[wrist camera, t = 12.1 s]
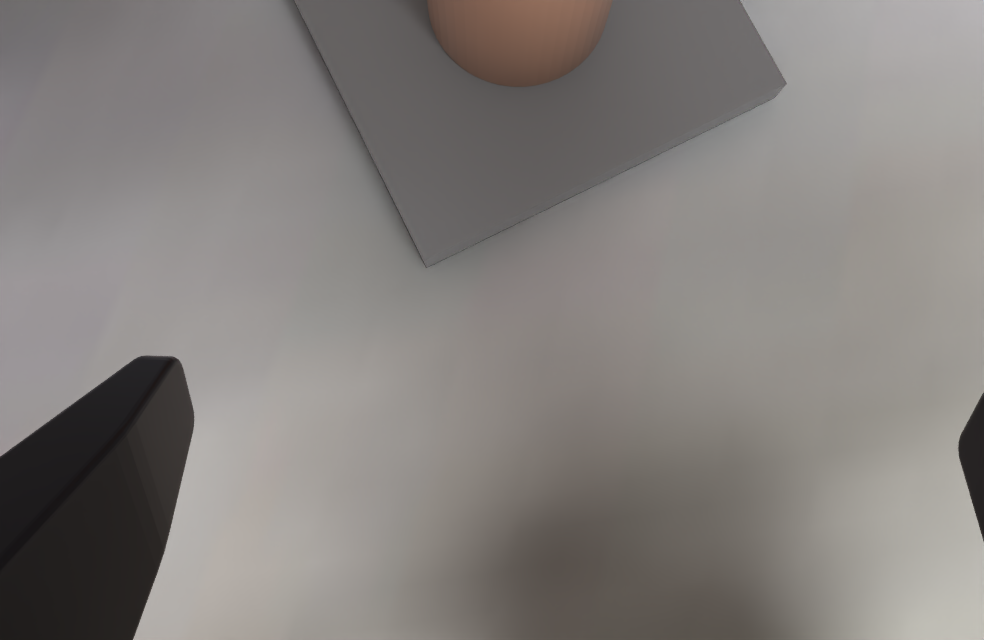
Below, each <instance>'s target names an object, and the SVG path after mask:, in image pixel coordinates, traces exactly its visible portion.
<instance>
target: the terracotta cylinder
mask: <svg viewBox="0 0 984 640" xmlns="http://www.w3.org/2000/svg"><path fill="white" fill-rule="evenodd" d="M612 1H613V0H427V5H428V13H429V18H430V22H431V26H432V29H433V31H434V33H435V36H436V38H437V40H438V41H439V43H440V45H441V46H442V48H443V49H444V51H445V52H446V53H447V54H448V56H449V57H450V58H451V59H452V60H453V61H454V62H455V63H456V64H458V65H459V66H460V67H461V68H463V69H464V70H466V71H467V72H468V73H470V74H472V75H474V76H476V77H478V78H480V79H482V80H485V81H487V82H490V83H494V84H498V85H503V86H511V87H527V86H535V85H540V84H544V83H548V82H550V81H553V80H555V79H558V78H560V77H562V76H564V75H566V74H567V73H569V72H571V71H572V70H573V69H575V68H576V67H577V66H579V65H580V64H581V63H582V62H583V61H584V60H585V59H586V58H587V57H588V56H589V55H590V53H591V52H592V51H593V50H594V48H595V47H596V45H597V43H598V42H599V40H600V38H601V36H602V33H603V31H604V28H605V25H606V22H607V18H608V15H609V11H610V8H611V5H612Z"/></svg>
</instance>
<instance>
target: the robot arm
mask: <svg viewBox="0 0 984 640" xmlns="http://www.w3.org/2000/svg"><path fill="white" fill-rule="evenodd" d="M193 428H194V410H193V406H192V402H191V398H190V394H189V390H188V386H187V382H186V378H185V374H184V370H183V367H182V364H181V363H180V361H179V360H178V359H177V358H175V357H172V356H140V357H138V358H136V359H134V360H133V361H131V362H130V363H129V364H127V365H126V366H124V367H123V368H122V369H120V370H119V371H118V372H116V373H115V374H113V375H112V376H111V377H109V378H108V379H107V380H105V381H104V382H102V383H101V384H100V385H98V386H97V387H95V388H94V389H93V390H91V391H90V392H89V393H87V394H86V395H84V396H83V397H82V398H80V399H79V400H78V401H76V402H75V403H73V404H72V405H71V406H69V407H68V408H67V409H65V410H64V411H62V412H61V413H60V414H58V415H57V416H56V417H54V418H53V419H51V420H50V421H49V422H47V423H46V424H45V425H43V426H42V427H40V428H39V429H38V430H36V431H35V432H34V433H32V434H31V435H29V436H28V437H27V438H25V439H24V440H22V441H21V442H20V443H18V444H17V445H16V446H14V447H13V448H11V449H10V450H9V451H7V452H6V453H5V454H3V455H2V456H0V640H133V638H134V636H135V633H136V630H137V627H138V625H139V622H140V619H141V616H142V614H143V611H144V608H145V605H146V603H147V600H148V597H149V594H150V592H151V589H152V586H153V583H154V581H155V578H156V575H157V572H158V569H159V566H160V563H161V560H162V557H163V554H164V551H165V548H166V544H167V540H168V536H169V532H170V528H171V524H172V519H173V515H174V511H175V507H176V502H177V498H178V494H179V489H180V485H181V481H182V477H183V472H184V468H185V464H186V459H187V455H188V451H189V447H190V442H191V438H192V434H193ZM958 450H959V458H960V462H961V465H962V469H963V472H964V476H965V479H966V482H967V486H968V489H969V493H970V496H971V499H972V503H973V506H974V510H975V513H976V517H977V520H978V523H979V527H980V530H981V534H982V537H983V540H984V393H983V394H982V396H981V398H980V400H979V402H978V404H977V405H976V407H975V409H974V411H973V413H972V415H971V417H970V419H969V420H968V422H967V424H966V426H965V428H964V430H963V432H962V434H961V436H960V440H959V447H958Z"/></svg>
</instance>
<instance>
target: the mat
mask: <svg viewBox="0 0 984 640" xmlns="http://www.w3.org/2000/svg"><path fill="white" fill-rule="evenodd" d="M294 2H295V4H296V6H297V8H298V10H299V12H300V14H301V16H302V18H303V20H304V22H305V24H306V26H307V28H308V30H309V32H310V34H311V36H312V38H313V40H314V42H315V44H316V46H317V48H318V50H319V52H320V54H321V56H322V58H323V60H324V62H325V64H326V66H327V68H328V70H329V72H330V74H331V76H332V78H333V80H334V82H335V84H336V86H337V88H338V90H339V92H340V94H341V96H342V98H343V100H344V102H345V104H346V106H347V108H348V110H349V112H350V114H351V116H352V119H353V121H354V123H355V125H356V127H357V129H358V131H359V133H360V135H361V137H362V139H363V141H364V143H365V145H366V147H367V149H368V151H369V153H370V155H371V157H372V159H373V161H374V163H375V165H376V167H377V169H378V171H379V173H380V175H381V177H382V179H383V181H384V183H385V185H386V187H387V189H388V191H389V193H390V195H391V197H392V199H393V201H394V203H395V205H396V207H397V209H398V211H399V213H400V215H401V217H402V219H403V221H404V223H405V225H406V227H407V229H408V231H409V233H410V235H411V237H412V239H413V241H414V243H415V246H416V248H417V250H418V252H419V254H420V256H421V258H422V260H423V262H424V264H425V266H426V268H427V267H429V266H431V265H433V264H435V263H437V262H439V261H441V260H443V259H446V258H448V257H450V256H452V255H454V254H456V253H458V252H460V251H462V250H464V249H466V248H468V247H470V246H472V245H474V244H476V243H478V242H480V241H482V240H484V239H486V238H488V237H491V236H493V235H495V234H497V233H499V232H501V231H503V230H505V229H507V228H509V227H511V226H513V225H515V224H517V223H519V222H521V221H523V220H525V219H527V218H529V217H531V216H534V215H536V214H538V213H540V212H542V211H544V210H546V209H548V208H550V207H552V206H554V205H556V204H558V203H560V202H562V201H564V200H566V199H568V198H570V197H572V196H574V195H577V194H579V193H581V192H583V191H585V190H587V189H589V188H591V187H593V186H595V185H597V184H599V183H601V182H603V181H605V180H607V179H609V178H611V177H613V176H615V175H617V174H620V173H622V172H624V171H626V170H628V169H630V168H632V167H634V166H636V165H638V164H640V163H642V162H644V161H646V160H648V159H650V158H652V157H654V156H656V155H658V154H660V153H662V152H665V151H667V150H669V149H671V148H673V147H675V146H677V145H679V144H681V143H683V142H685V141H687V140H689V139H691V138H693V137H695V136H697V135H699V134H701V133H703V132H705V131H708V130H710V129H712V128H714V127H716V126H718V125H720V124H722V123H724V122H726V121H728V120H730V119H732V118H734V117H736V116H738V115H740V114H742V113H744V112H746V111H748V110H751V109H753V108H755V107H757V106H759V105H761V104H763V103H765V102H767V101H769V100H771V99H773V98H775V97H776V96H777V94H778V93H779V92H780V91H781V90H782V88H783V87H784V86H785V85H786V84H787V83H786V81H785V80H784V78H783V76H782V74H781V73H780V71H779V69H778V67H777V66H776V64H775V62H774V60H773V58H772V57H771V55H770V53H769V51H768V50H767V48H766V46H765V44H764V43H763V41H762V39H761V37H760V36H759V34H758V32H757V30H756V28H755V27H754V25H753V23H752V21H751V20H750V18H749V16H748V14H747V13H746V11H745V9H744V7H743V6H742V4H741V2H740V0H613V1H612V5H611V8H610V11H609V15H608V18H607V22H606V25H605V28H604V31H603V33H602V36H601V38H600V40H599V42H598V43H597V45H596V47H595V48H594V50H593V51H592V52H591V53H590V55H589V56H588V57H587V58H586V59H585V60H584V61H583V62H582V63H581V64H580V65H579V66H577V67H576V68H575V69H573V70H572V71H571V72H569V73H567V74H566V75H564V76H562V77H560V78H558V79H555V80H553V81H550V82H548V83H544V84H540V85H535V86H527V87H511V86H503V85H498V84H494V83H490V82H487V81H485V80H482V79H480V78H478V77H476V76H474V75H472V74H470V73H468V72H467V71H466V70H464V69H463V68H461V67H460V66H459V65H458V64H456V63H455V62H454V61H453V60H452V59H451V58H450V57H449V56H448V54H447V53H446V52H445V51H444V49H443V48H442V46H441V45H440V43H439V41H438V40H437V38H436V36H435V33H434V31H433V29H432V26H431V22H430V18H429V13H428V5H427V0H294Z"/></svg>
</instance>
